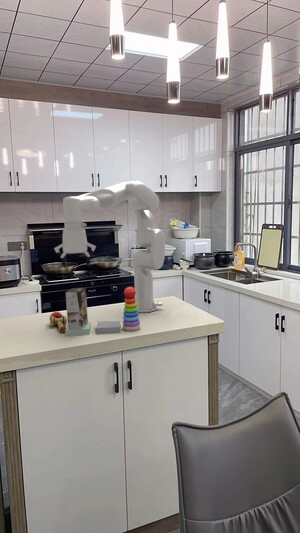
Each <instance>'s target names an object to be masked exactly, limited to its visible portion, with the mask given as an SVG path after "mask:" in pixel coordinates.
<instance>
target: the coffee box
mask: <svg viewBox="0 0 300 533" xmlns="http://www.w3.org/2000/svg"><path fill="white" fill-rule="evenodd" d="M87 301H88V300H87V287H73V288H71V289H68V290H67V291H66V292H65V304H66V317H67V325H68V329H82V328H83V327H84V326H85V325H86V324H87V323H88V322H89V320H88V319H89V318H88V304H87Z"/></svg>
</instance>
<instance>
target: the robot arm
mask: <svg viewBox="0 0 300 533" xmlns="http://www.w3.org/2000/svg"><path fill="white" fill-rule="evenodd" d="M125 201H128V205H129V207H130V209H131V210H132V212H133V213H134V214H135V217H136V232H135V234H136V236H135V239H136V240H135V243H136V245H137V246H139V247H142V248H150V249H138V250H137V249H136V250H135V251H134V252H133V253H132V255H131V264H132V268H133V278H134V279H133V280H134V289H135V291H136V294H135V296H134V298H136V303H137V306H136V307H137V308H138V309H137V311H138V313H152V312H155V311H156V310H157V307H162V306H163V302H160V301H155V300H154V285H153V284H154V283H153V281H154V279H153V272H152V271H151V270H159V269H161V268H162V267H163V265H164V263H165V256H166V255H165V254H166V243H167V242H166V235H165V233H164V231H163V230H162V229H161V228H154V216H153V214H152V212H151V211H154V210H156V209H158V207H159V206H160V198H159V196H158V194H157V193H156V192H155V191H153V190H152V189H151V188H150V187H149V186H147V185H146V184H144V182H141V181H140V180H131V181H123V182H120V183H119V182H118V183H117V184H115V185H114V184H113V185H110V186H107V187H105V188H100V189H97V190H95V191H92V192H87V193H84V194H80V195H77V196H66V197H64V198H63V199H62V205H63V206H62V208H63V220H64V222H63V223H64V229H63V230H62V243H61V244H59V245H58V246H55V247H54V248H53V249H54V251H55V253H56V254H57V255H58V256H59V258H60V259H61V265H62V266H63V268H66V267H67V257H66V255H67V254H85V256H86V257H85V263H86V265H85V266H86V267H90V266H89V265H91V256H92V254H93V253H94V251H95V249H96V248H97V246H96V245H94V244H92V243H89V242H88V240H87V233H86V229H84V227H87V223H85V222H84V221H83V215H90V214H91V215H92V214H95V213H97V212H98V211H99V209H100V208H107V207H112V206H115V205H118V204H120V203H122V202H125ZM88 247H89V248H91V250H90V251H88ZM61 248H62V252H60V249H61Z"/></svg>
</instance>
